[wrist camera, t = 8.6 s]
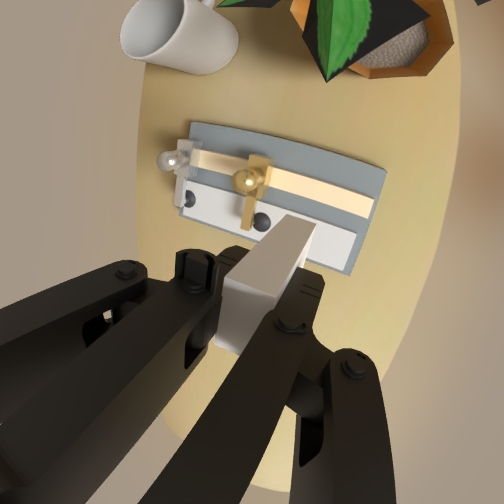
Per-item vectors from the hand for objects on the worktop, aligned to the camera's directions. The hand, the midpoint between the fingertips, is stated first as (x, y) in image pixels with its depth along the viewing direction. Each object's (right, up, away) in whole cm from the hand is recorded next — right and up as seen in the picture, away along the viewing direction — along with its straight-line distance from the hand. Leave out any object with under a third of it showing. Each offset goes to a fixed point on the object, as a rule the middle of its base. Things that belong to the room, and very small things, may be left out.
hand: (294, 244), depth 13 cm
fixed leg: (-9, +9, +17) cm, 21 cm away
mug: (-7, +26, +12) cm, 30 cm away
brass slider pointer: (-1, +6, +15) cm, 16 cm away
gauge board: (+1, +7, +18) cm, 19 cm away
